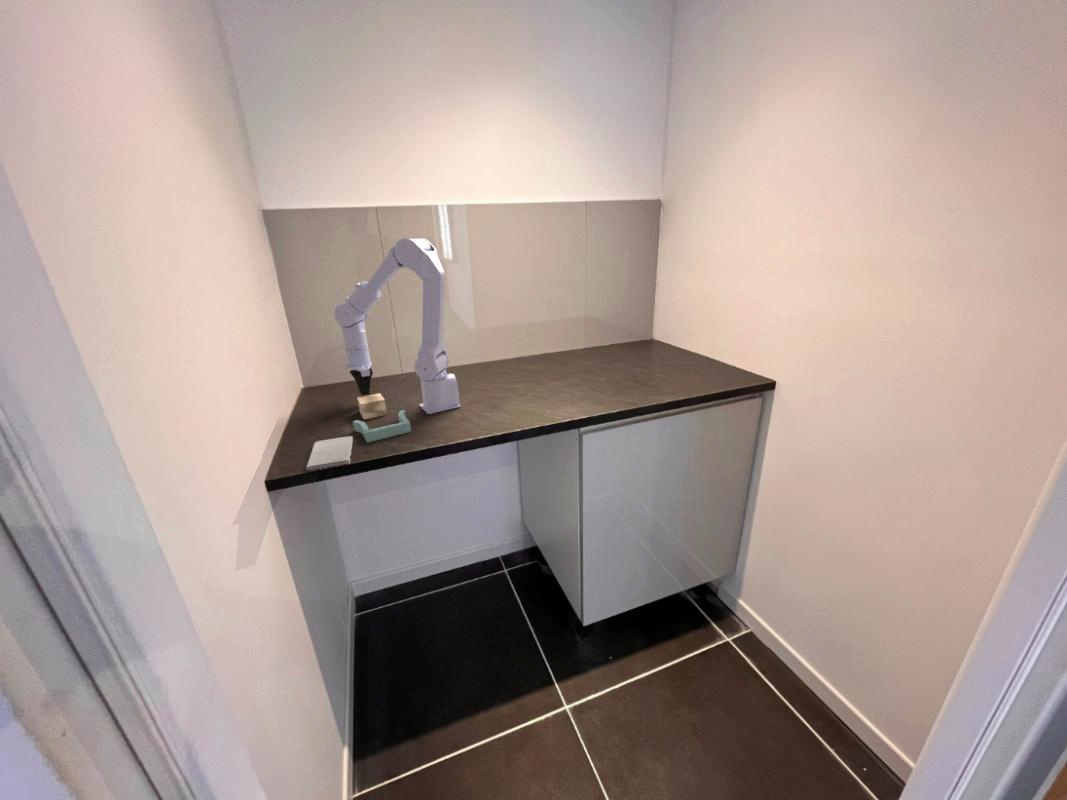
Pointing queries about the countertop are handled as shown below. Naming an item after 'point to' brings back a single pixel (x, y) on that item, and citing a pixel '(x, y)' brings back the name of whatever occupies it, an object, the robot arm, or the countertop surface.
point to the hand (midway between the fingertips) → (365, 394)
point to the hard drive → (330, 453)
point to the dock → (383, 429)
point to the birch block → (372, 406)
